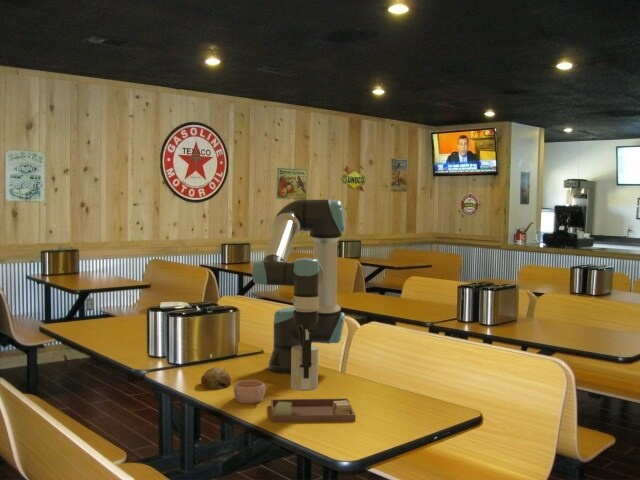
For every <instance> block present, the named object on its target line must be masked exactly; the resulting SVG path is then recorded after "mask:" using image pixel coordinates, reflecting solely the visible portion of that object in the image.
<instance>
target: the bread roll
mask: <svg viewBox="0 0 640 480" xmlns="http://www.w3.org/2000/svg"><path fill="white" fill-rule="evenodd" d="M200 383H201V386H203V388H206V389H210V390H211V389H212V390H220V389H224V388H228V387H230V386H231V383H232V378H231V376H230V374H229V373H228V372H227V371H226V369H224V368H221V367H217V366H216V367H211V368H209V369H207V370H206V371H205V372H204V373H203V375H202V376H201V377H200Z"/></svg>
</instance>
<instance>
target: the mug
mask: <svg viewBox="0 0 640 480" xmlns="http://www.w3.org/2000/svg"><path fill="white" fill-rule="evenodd" d="M266 390H267V389H266V384H265V382H263V381H262V380H257V379H244V380H243V379H242V380H238V381H237V382H235V383H234V386H233V393H234V397H235V400H236V401H237V402H238V403H241V404H247V405H248V404H257V403H261V402H262V401H263V400H264V396H265V395H266Z"/></svg>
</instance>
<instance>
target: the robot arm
mask: <svg viewBox="0 0 640 480" xmlns="http://www.w3.org/2000/svg"><path fill="white" fill-rule="evenodd" d="M346 230H347V229H346V216H345V209H344V205H343V203H342V201H340V200H338V199H329V198H328V199H303V198H301V199H300V198H299V199H296V200H294V201H291V202H289V203H288V204H286V205H285V206H283V207H282V208H281V209H280V210H279V211H278V212H277V214H276V216H275V218H274V220H273V231H272V235H271V237H270V240H269V242H268V245H267V249H266V251H265V254H264V257H263V260H257V261H254V263H253V264H252V269H251V275H252V276H251V277H252V281H253V283H254V284H255V285H260V286H261V285H262V286H287V287H289V286H290V287H292V286H293V298H291V302H292V303H293V306H290V307H285V308H284V307H283V308H280V309H278V310H276V311H274V315H273V347H272V348H273V349H272V352H271V355H270V358H269V361H268V370H269V371H271V372H274V373H278V374H291V349H292V347H293V346H297V345H300V346H302V365H300V367H301V389H310V376H311V365H312V364H311V345H312V343H313V344H327V345H328V344H339V343H340V342H341V340H342V335H343V330H344V325H345V317H346V316H345V315H346V314H345V312H342V308H341V306H340V305H339V304H338V241H339V240H340V239H341V237H342V233H346ZM299 232H309V237H310V238H311V239H312V241H313V258H312V257H302V258H301V257H300V258H296V259H295V260H294V261H288V259H289V256H290V254H291V253H290V252H291V249H292V245H293V243H294V240H295V239H294V238H295V236H296V235H297V234H298V233H299ZM305 362H308V363H305Z"/></svg>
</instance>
